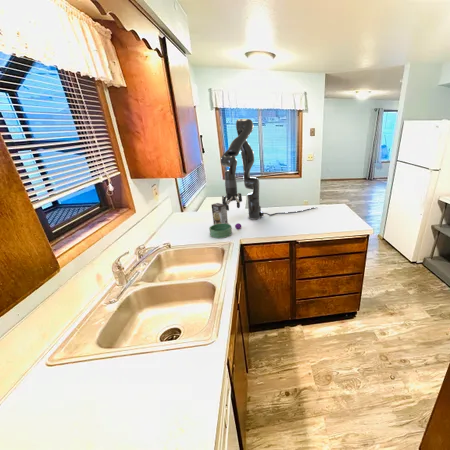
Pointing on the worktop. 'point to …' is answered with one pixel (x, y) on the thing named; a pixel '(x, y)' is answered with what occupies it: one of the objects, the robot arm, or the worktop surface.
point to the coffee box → (219, 214)
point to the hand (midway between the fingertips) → (233, 209)
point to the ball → (238, 226)
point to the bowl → (220, 230)
